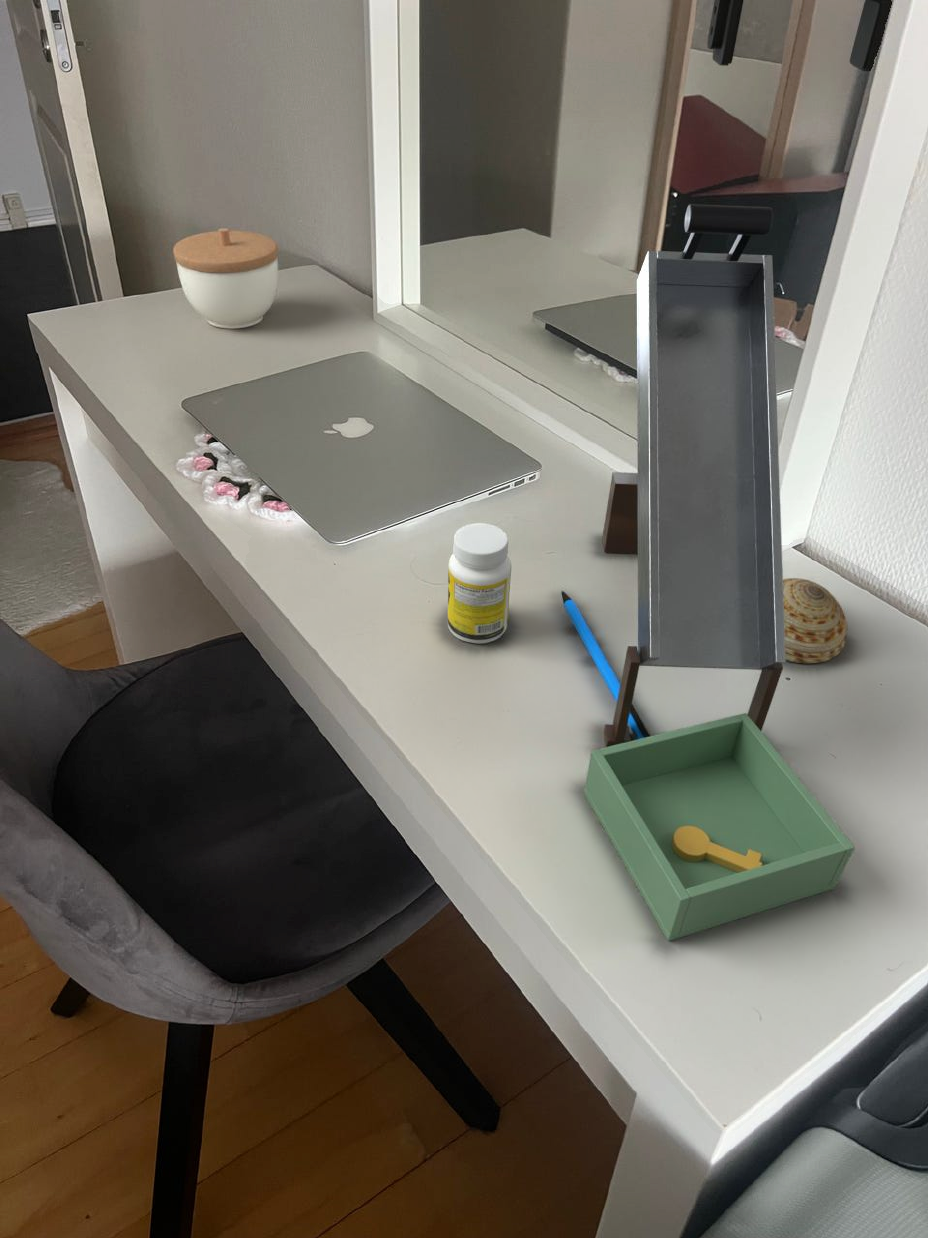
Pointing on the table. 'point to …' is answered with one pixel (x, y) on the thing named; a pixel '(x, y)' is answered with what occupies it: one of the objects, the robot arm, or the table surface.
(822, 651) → the seashell
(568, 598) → the pen
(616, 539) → the stand
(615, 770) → the bin
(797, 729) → the table surface
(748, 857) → the key
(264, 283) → the lidded bowl
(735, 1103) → the table surface
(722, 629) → the trough
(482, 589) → the supplement bottle
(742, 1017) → the table surface
